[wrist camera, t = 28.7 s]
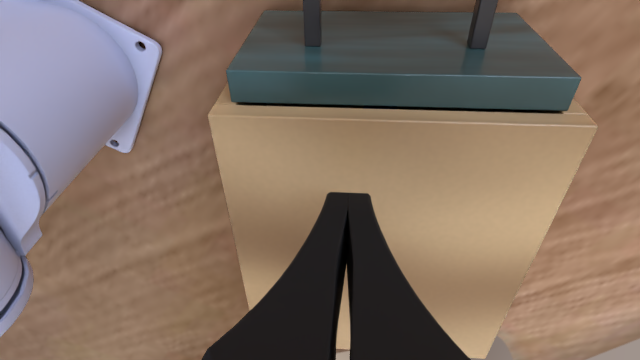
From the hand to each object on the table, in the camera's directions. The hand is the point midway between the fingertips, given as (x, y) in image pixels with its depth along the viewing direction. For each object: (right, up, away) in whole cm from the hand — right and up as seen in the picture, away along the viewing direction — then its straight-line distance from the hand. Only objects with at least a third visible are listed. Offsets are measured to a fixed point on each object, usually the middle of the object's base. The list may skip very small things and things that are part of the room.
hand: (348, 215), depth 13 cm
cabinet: (+2, +3, +11) cm, 11 cm away
